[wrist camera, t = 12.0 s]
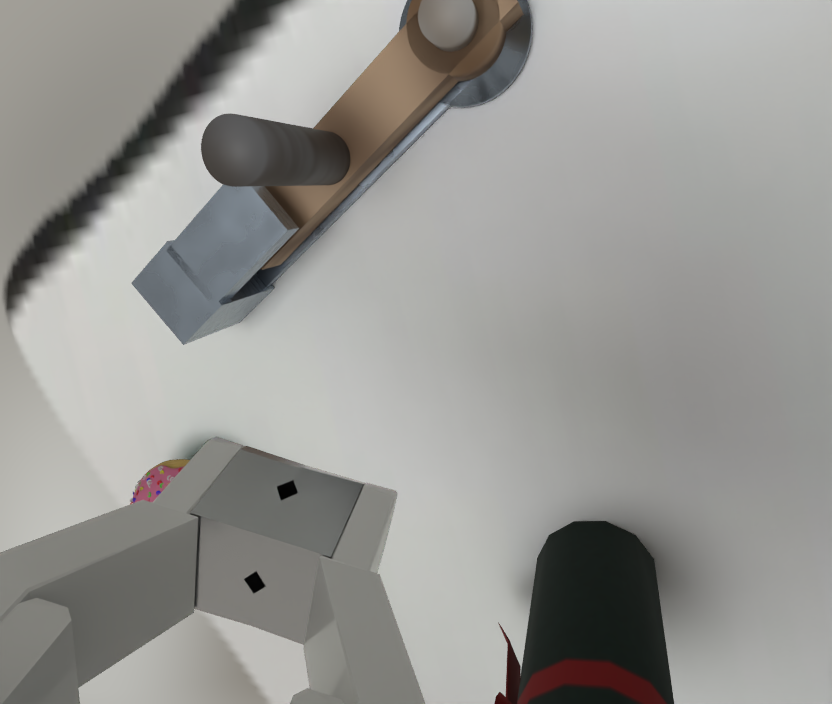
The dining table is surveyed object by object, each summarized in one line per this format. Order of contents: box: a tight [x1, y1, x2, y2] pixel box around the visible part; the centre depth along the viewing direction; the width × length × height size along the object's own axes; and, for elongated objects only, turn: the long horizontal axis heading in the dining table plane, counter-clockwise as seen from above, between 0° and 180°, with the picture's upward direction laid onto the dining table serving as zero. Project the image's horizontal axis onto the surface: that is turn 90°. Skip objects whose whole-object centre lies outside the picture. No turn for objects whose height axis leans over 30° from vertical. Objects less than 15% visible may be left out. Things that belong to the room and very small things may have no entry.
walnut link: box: [201, 0, 523, 270], centre depth 31 cm, size 21×5×12 cm, turn 132°
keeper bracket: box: [132, 0, 532, 345], centre depth 36 cm, size 28×8×6 cm, turn 132°
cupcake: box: [130, 459, 190, 504], centre depth 43 cm, size 9×8×12 cm
